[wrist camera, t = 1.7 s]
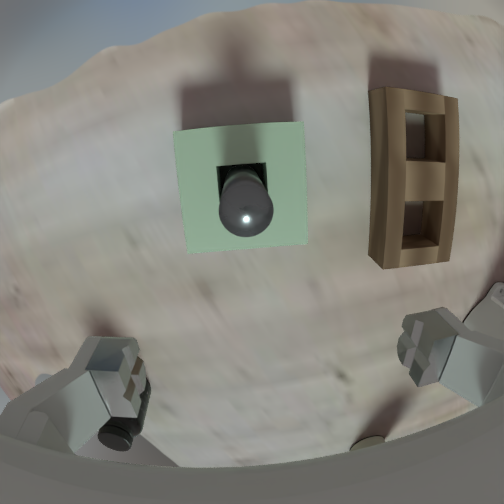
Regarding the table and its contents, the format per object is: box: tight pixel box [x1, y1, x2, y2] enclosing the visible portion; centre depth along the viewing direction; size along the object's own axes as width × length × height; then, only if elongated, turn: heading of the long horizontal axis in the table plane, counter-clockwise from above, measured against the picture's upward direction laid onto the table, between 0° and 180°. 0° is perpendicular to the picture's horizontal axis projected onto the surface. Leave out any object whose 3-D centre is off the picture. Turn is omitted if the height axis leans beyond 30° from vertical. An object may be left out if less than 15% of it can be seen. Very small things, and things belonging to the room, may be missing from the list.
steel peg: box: [219, 165, 274, 237], centre depth 27 cm, size 4×4×14 cm
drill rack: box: [368, 87, 459, 269], centre depth 32 cm, size 10×20×4 cm, turn 4°
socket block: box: [173, 122, 308, 254], centre depth 31 cm, size 12×12×5 cm
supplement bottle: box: [98, 380, 151, 451], centre depth 38 cm, size 7×7×12 cm
